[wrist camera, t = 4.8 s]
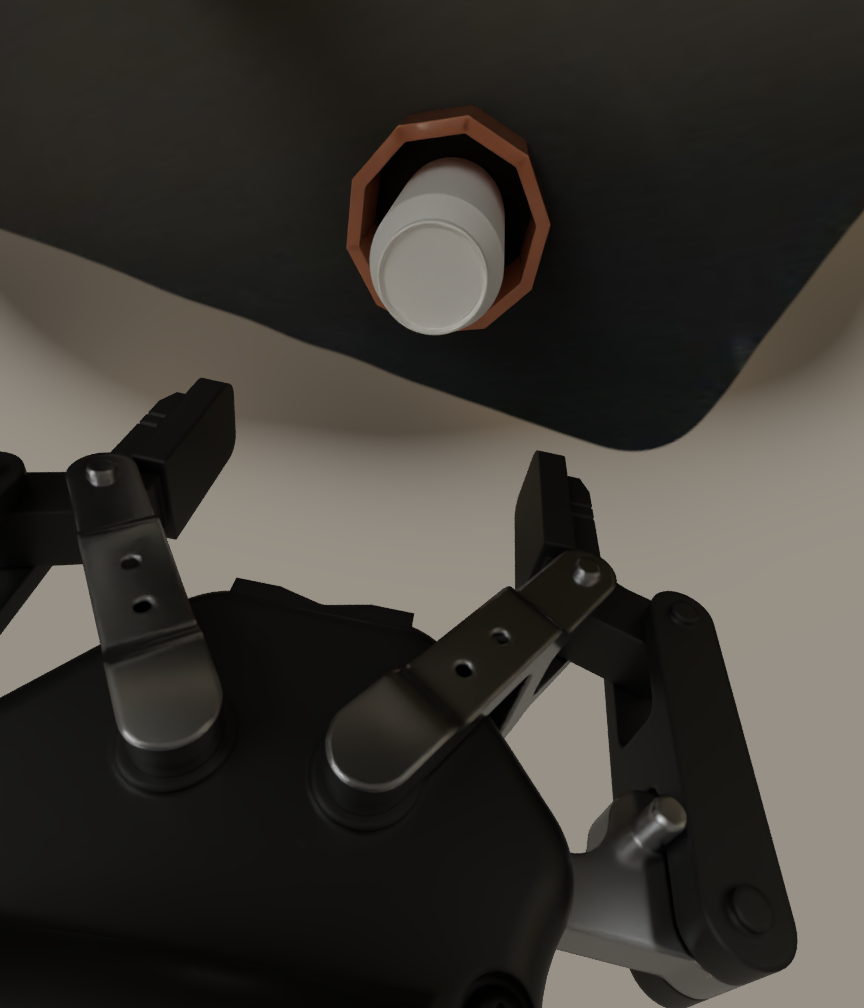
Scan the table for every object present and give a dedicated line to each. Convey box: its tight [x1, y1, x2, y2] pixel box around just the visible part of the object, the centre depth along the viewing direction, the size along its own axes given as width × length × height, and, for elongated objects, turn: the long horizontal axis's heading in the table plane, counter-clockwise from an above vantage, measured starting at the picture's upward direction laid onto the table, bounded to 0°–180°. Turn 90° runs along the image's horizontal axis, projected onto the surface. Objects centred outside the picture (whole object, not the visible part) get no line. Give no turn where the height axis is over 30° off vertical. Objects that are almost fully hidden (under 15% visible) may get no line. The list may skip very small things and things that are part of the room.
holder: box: [346, 105, 551, 331], centre depth 32 cm, size 10×11×5 cm
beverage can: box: [370, 157, 505, 335], centre depth 30 cm, size 6×6×12 cm
